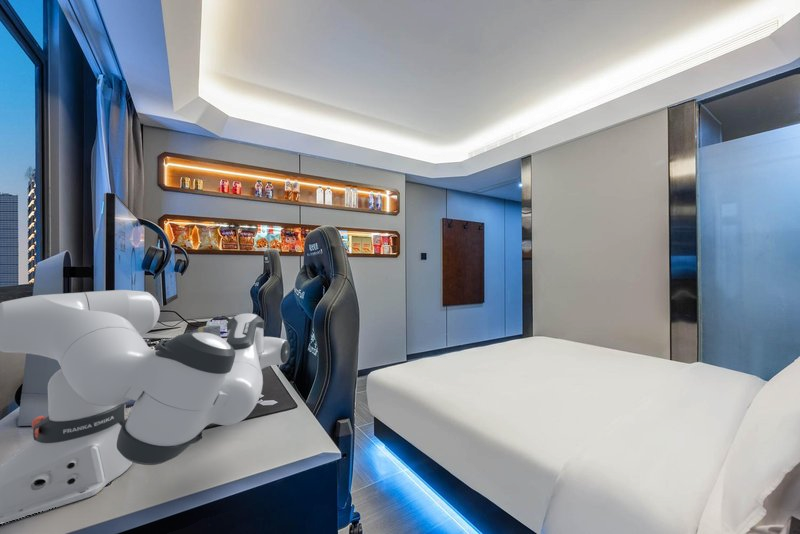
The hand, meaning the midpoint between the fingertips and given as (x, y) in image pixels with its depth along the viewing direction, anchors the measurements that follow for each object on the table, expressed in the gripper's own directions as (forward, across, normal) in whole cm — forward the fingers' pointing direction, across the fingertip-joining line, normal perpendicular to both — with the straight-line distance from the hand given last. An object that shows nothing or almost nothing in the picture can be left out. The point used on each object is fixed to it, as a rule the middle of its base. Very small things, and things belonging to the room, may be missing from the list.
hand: (210, 347), depth 107 cm
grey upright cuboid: (-1, 0, -10) cm, 10 cm away
